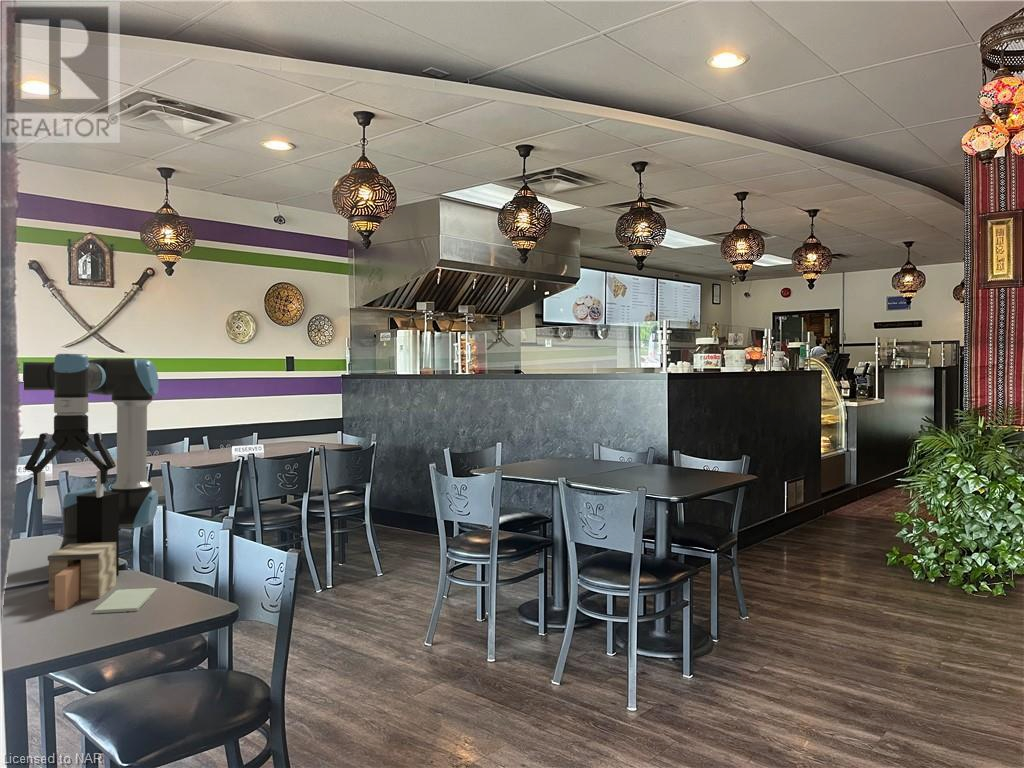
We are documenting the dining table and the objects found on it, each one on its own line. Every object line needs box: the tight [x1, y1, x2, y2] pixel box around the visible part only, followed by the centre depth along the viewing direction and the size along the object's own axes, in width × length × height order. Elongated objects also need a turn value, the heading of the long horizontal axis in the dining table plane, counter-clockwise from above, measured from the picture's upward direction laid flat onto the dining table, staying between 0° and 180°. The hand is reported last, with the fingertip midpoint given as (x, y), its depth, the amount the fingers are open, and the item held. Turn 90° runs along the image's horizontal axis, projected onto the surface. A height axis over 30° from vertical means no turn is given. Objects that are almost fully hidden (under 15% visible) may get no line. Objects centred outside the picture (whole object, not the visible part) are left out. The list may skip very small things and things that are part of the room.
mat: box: [93, 587, 158, 614], centre depth 191 cm, size 18×10×1 cm, turn 12°
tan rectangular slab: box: [54, 560, 81, 611], centre depth 191 cm, size 16×2×9 cm, turn 12°
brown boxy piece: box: [47, 542, 117, 602], centre depth 198 cm, size 15×12×12 cm
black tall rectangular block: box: [77, 482, 120, 577], centre depth 212 cm, size 8×8×28 cm
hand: (70, 497), depth 186 cm, fingers open, 13 cm apart
